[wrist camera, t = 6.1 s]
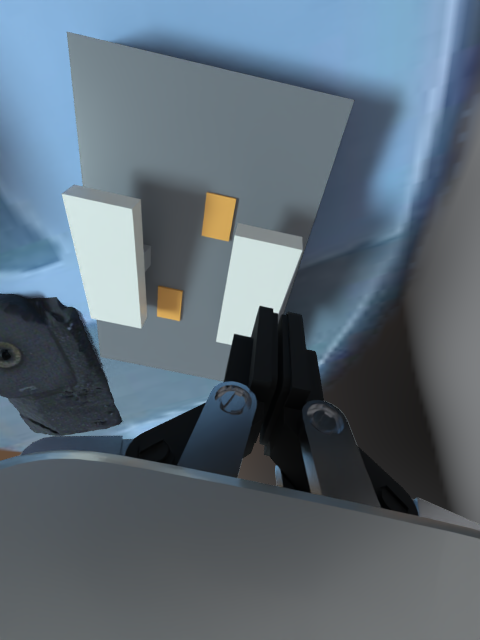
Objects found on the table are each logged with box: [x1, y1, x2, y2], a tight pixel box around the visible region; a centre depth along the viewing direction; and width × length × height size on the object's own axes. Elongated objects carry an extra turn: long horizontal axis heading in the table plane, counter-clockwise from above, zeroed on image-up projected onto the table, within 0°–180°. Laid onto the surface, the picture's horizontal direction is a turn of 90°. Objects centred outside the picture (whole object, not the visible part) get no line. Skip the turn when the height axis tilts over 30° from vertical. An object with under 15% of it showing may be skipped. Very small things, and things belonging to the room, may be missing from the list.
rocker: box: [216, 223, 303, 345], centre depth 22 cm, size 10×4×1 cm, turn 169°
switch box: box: [67, 32, 354, 382], centre depth 25 cm, size 24×16×6 cm, turn 169°
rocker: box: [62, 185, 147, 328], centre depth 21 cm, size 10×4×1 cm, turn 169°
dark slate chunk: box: [0, 294, 121, 436], centre depth 37 cm, size 15×22×5 cm
